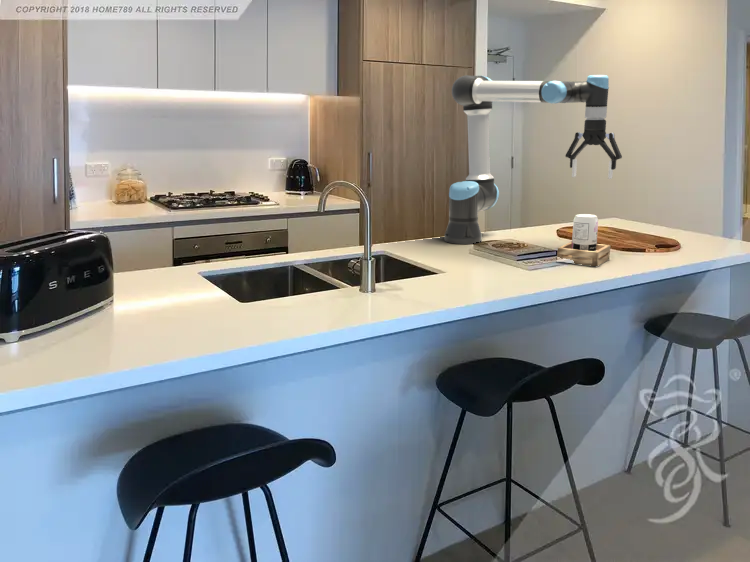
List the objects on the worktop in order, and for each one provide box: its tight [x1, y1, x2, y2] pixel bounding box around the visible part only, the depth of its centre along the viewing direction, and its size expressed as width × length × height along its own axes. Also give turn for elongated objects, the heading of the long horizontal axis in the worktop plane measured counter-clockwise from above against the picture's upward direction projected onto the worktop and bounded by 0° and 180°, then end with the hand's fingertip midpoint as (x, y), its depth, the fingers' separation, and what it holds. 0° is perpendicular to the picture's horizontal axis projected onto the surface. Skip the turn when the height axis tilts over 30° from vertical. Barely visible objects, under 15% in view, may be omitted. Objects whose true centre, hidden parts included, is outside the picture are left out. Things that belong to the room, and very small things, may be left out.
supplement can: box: [571, 213, 599, 260], centre depth 243 cm, size 8×8×15 cm
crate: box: [556, 241, 611, 267], centre depth 244 cm, size 14×14×5 cm
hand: (591, 177), depth 259 cm, fingers open, 13 cm apart
